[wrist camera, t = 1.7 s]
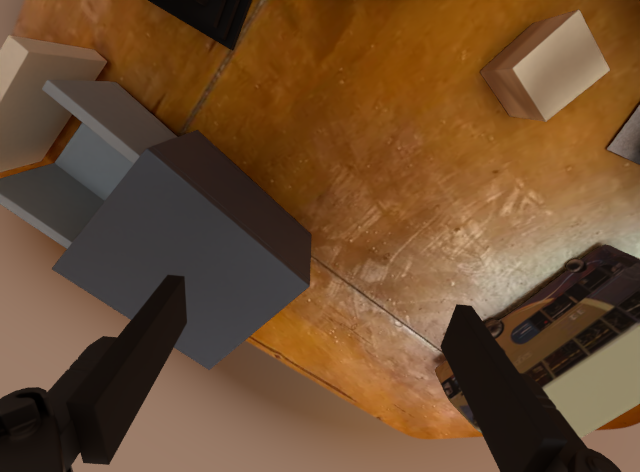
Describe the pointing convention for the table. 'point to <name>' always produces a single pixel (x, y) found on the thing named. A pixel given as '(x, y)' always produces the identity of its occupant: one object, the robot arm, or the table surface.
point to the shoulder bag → (629, 139)
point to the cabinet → (193, 246)
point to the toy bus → (575, 341)
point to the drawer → (48, 121)
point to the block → (546, 67)
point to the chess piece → (210, 16)
